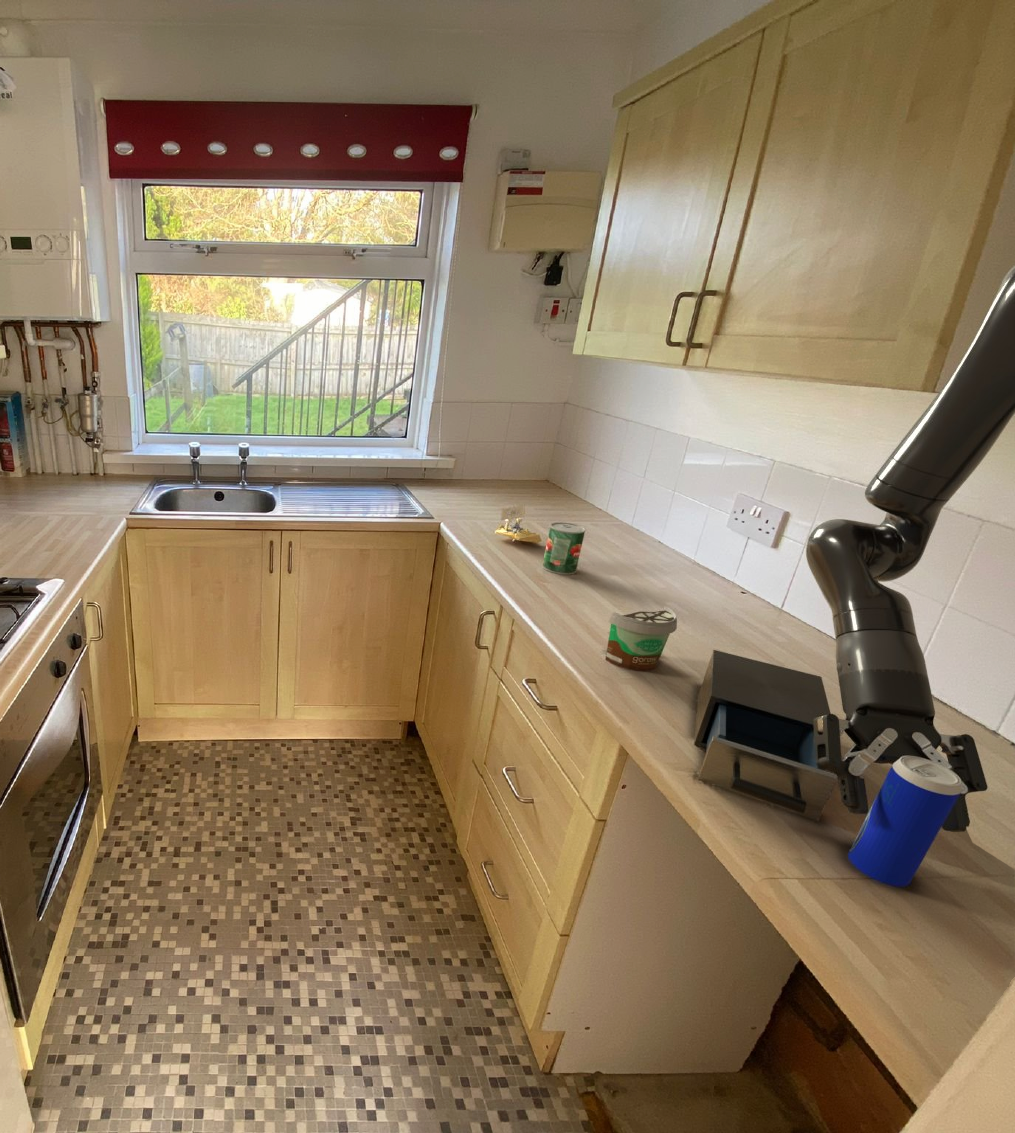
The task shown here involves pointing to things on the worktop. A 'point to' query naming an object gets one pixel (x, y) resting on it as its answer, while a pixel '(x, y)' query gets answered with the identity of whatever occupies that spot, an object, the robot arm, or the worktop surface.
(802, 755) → the drawer
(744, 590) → the worktop surface
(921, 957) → the worktop surface
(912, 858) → the beverage can
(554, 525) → the canned tomato
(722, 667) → the cabinet
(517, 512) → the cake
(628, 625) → the food container
